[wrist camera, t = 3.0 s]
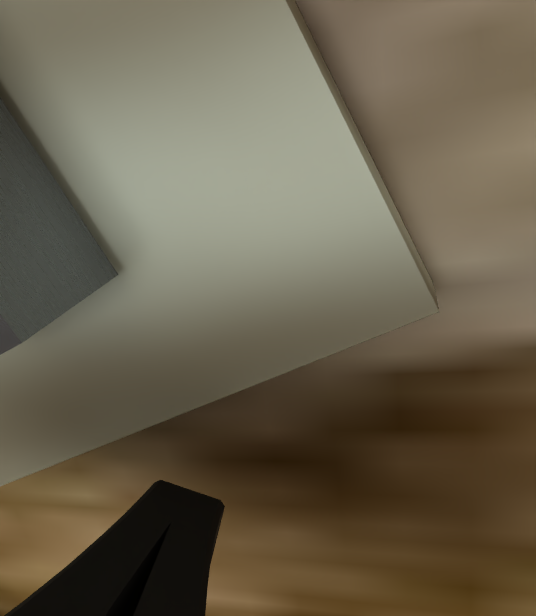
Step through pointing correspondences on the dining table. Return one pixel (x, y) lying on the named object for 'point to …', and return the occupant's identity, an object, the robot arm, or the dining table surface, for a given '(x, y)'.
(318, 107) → the base
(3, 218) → the charcoal brick
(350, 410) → the dining table surface
